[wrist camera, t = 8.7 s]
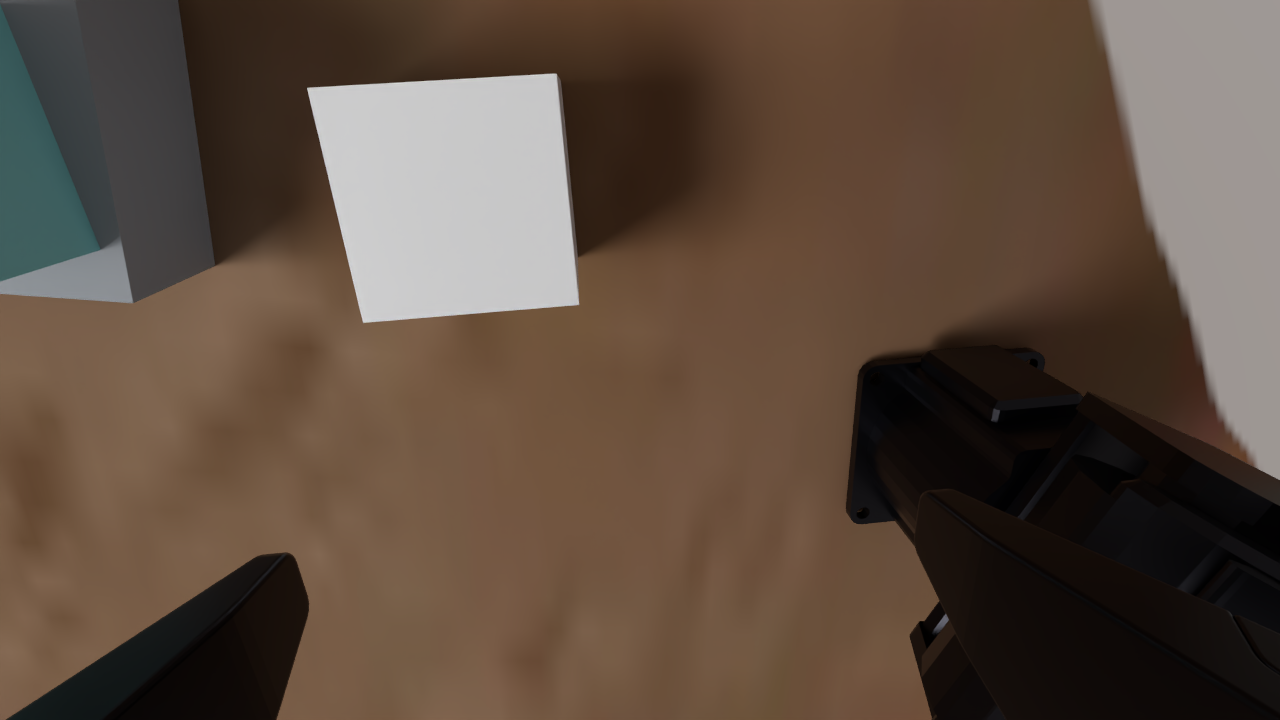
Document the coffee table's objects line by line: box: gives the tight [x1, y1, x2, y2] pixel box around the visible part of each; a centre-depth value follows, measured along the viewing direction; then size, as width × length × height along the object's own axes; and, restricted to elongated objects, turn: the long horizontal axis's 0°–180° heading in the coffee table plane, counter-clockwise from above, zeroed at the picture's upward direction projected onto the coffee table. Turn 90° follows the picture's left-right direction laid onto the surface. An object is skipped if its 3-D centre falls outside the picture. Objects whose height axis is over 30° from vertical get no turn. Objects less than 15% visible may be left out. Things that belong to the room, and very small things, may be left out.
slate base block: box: [0, 0, 215, 303], centre depth 15 cm, size 7×7×4 cm
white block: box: [307, 74, 579, 323], centre depth 16 cm, size 5×5×5 cm
